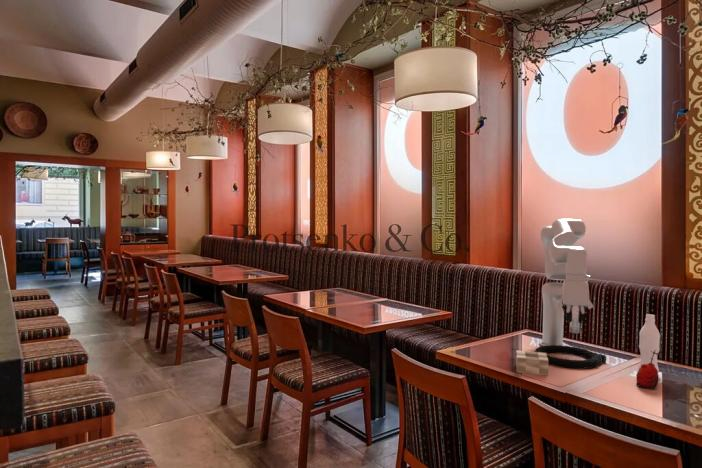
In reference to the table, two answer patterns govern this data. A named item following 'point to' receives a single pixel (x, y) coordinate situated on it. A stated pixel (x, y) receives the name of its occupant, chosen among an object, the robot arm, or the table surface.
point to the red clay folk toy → (647, 375)
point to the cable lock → (593, 357)
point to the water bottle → (649, 341)
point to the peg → (575, 319)
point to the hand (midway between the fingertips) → (574, 321)
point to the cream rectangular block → (531, 362)
